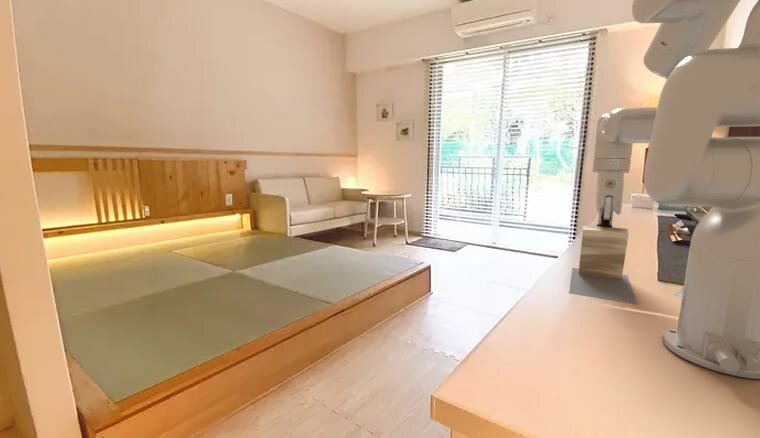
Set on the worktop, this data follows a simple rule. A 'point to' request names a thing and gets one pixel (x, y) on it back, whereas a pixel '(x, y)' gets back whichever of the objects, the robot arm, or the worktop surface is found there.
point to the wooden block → (603, 251)
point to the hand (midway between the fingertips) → (602, 240)
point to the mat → (602, 287)
